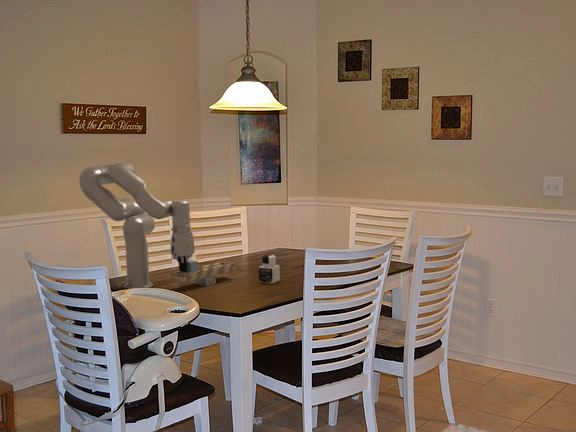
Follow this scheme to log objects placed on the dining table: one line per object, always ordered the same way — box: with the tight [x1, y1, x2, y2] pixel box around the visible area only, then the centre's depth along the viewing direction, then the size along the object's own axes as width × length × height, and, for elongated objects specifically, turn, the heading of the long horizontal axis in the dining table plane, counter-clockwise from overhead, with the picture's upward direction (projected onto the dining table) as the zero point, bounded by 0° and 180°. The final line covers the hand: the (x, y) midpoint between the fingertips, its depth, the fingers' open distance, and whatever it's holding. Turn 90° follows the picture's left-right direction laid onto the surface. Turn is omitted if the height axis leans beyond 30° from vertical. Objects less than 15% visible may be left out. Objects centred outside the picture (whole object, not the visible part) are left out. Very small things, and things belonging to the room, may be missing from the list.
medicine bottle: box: [258, 254, 281, 284], centre depth 320 cm, size 7×7×12 cm
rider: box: [184, 259, 199, 274], centre depth 311 cm, size 4×4×5 cm
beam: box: [170, 261, 237, 283], centre depth 318 cm, size 32×8×4 cm, turn 141°
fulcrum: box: [193, 275, 217, 287], centre depth 318 cm, size 6×8×4 cm
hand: (183, 271), depth 308 cm, fingers closed
